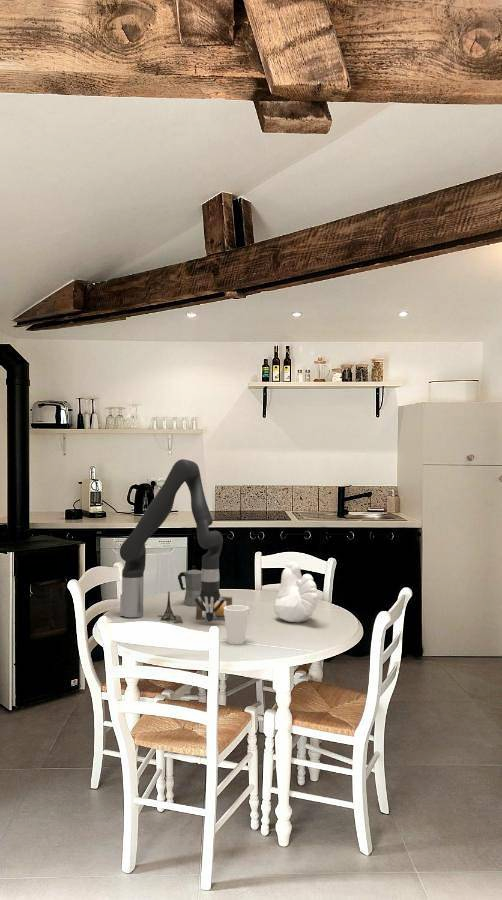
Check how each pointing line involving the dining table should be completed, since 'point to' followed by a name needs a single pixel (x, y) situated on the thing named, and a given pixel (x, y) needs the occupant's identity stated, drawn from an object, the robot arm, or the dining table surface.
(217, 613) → the ball
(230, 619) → the foam cup
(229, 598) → the bridge
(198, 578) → the coffeepot
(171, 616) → the eiffel tower figurine
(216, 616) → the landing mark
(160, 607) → the dining table surface
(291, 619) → the decorative rooster
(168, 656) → the dining table surface
